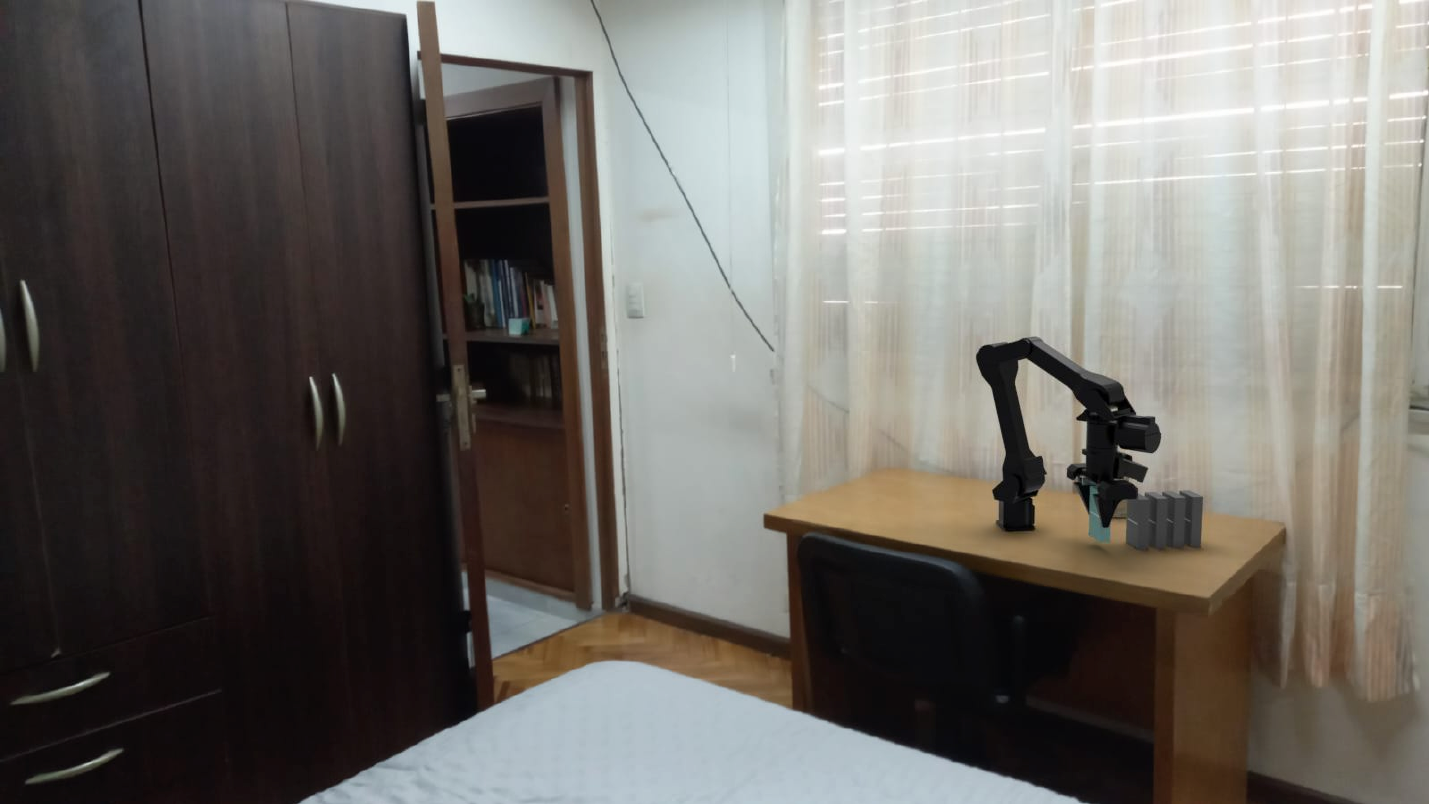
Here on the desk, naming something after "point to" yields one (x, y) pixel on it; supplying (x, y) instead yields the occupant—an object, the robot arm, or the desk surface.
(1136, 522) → the tile
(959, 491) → the desk surface
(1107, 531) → the head tile
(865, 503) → the desk surface
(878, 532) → the desk surface
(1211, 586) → the desk surface
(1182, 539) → the tile
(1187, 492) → the tile
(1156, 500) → the tile
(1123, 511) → the box
